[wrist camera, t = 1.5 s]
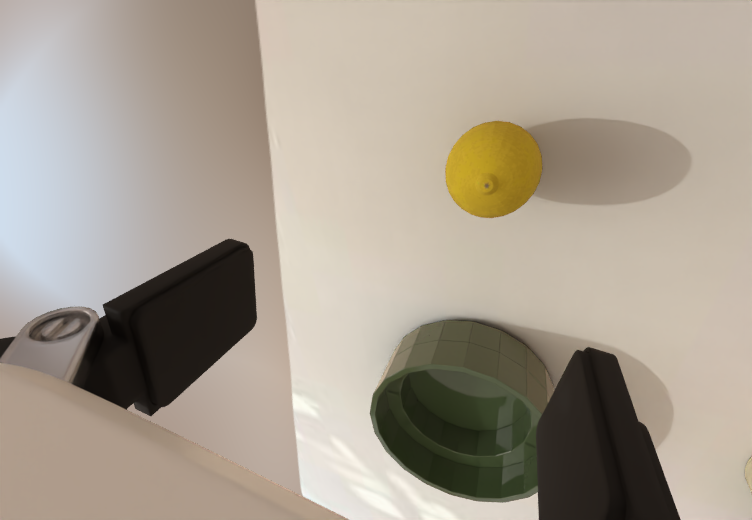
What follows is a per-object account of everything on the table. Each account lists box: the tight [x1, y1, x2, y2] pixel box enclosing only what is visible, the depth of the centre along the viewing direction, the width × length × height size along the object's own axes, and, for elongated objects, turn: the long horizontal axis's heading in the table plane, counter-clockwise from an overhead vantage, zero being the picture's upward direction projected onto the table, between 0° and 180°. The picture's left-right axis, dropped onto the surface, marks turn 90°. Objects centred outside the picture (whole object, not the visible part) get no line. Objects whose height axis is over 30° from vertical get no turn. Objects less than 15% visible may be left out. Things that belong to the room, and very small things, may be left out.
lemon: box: [446, 121, 542, 218], centre depth 22 cm, size 6×6×8 cm
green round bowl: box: [370, 320, 554, 502], centre depth 32 cm, size 15×15×6 cm
